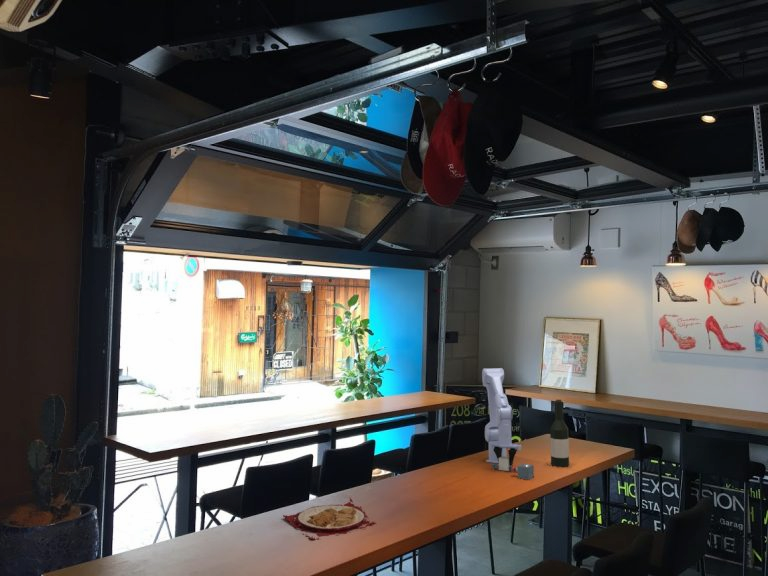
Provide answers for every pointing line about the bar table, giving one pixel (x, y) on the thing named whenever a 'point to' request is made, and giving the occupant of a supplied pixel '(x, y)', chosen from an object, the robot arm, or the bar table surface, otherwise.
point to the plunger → (514, 469)
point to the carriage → (504, 463)
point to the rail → (498, 467)
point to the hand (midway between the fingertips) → (505, 464)
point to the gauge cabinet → (525, 471)
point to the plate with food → (329, 519)
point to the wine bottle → (559, 439)
